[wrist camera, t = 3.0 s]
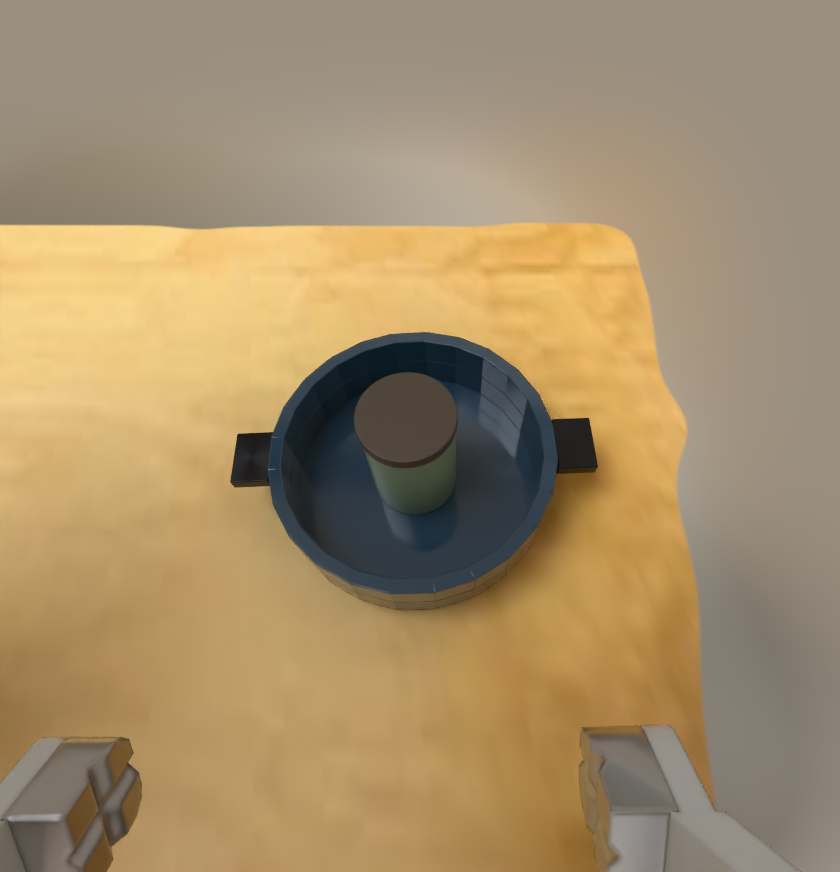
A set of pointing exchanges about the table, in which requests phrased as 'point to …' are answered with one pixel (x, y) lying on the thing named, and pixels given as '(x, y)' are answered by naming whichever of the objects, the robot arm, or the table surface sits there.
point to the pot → (406, 533)
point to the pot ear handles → (569, 433)
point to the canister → (409, 440)
